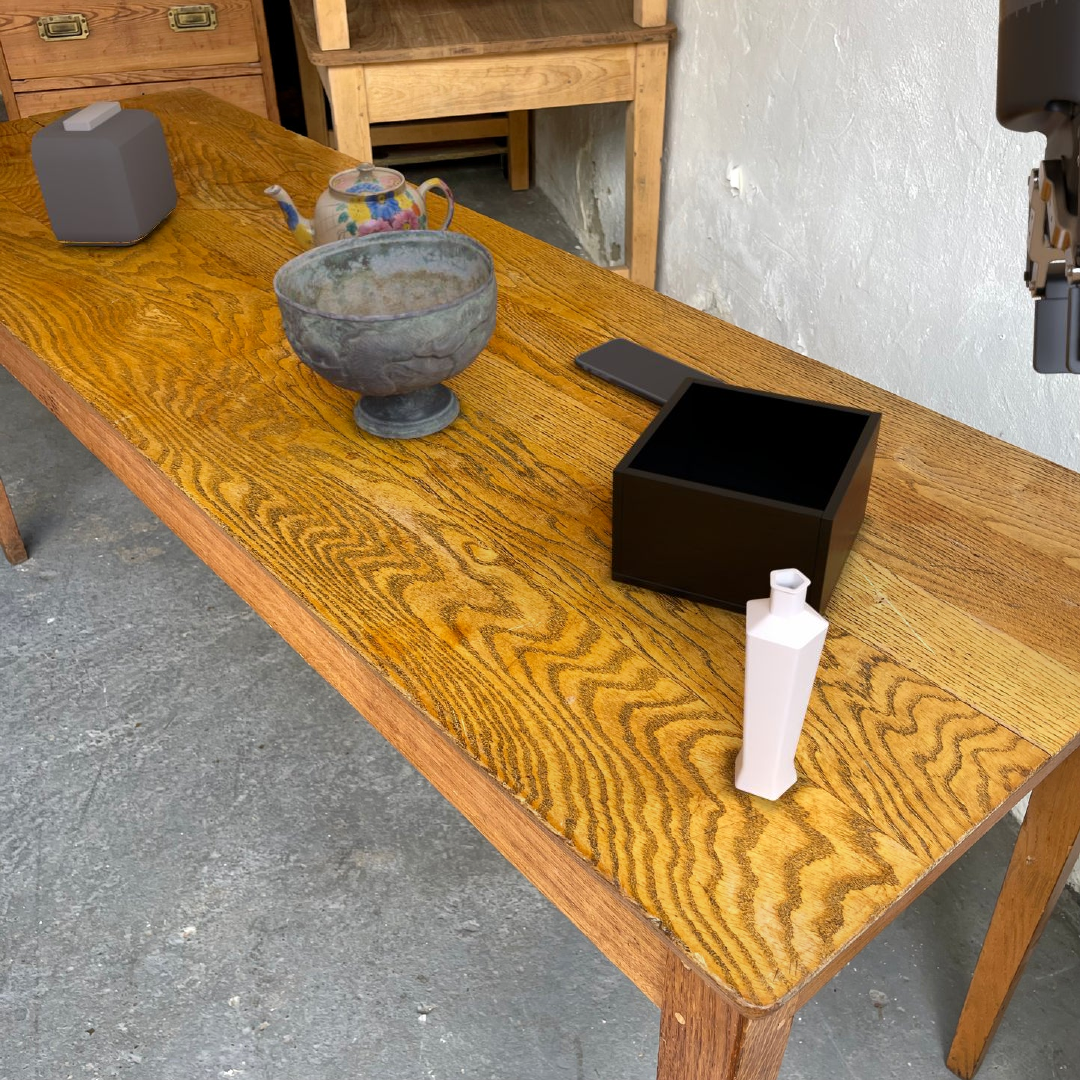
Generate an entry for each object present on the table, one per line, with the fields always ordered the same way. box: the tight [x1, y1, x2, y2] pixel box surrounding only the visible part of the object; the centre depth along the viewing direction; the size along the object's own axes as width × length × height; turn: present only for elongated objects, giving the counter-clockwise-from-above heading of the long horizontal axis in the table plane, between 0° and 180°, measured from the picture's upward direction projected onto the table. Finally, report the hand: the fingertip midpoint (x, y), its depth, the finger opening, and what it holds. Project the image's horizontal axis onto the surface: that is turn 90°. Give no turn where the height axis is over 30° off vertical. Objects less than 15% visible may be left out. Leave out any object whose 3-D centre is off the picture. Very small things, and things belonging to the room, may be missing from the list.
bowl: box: [272, 229, 498, 440], centre depth 101 cm, size 20×19×15 cm
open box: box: [610, 377, 883, 618], centre depth 83 cm, size 16×16×10 cm
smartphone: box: [573, 337, 727, 407], centre depth 110 cm, size 7×1×15 cm
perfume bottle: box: [734, 569, 830, 801], centre depth 63 cm, size 5×4×15 cm
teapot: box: [263, 161, 455, 252], centre depth 131 cm, size 20×14×13 cm
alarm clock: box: [30, 101, 178, 247], centre depth 145 cm, size 16×11×16 cm
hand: (1073, 373), depth 52 cm, fingers open, 8 cm apart
